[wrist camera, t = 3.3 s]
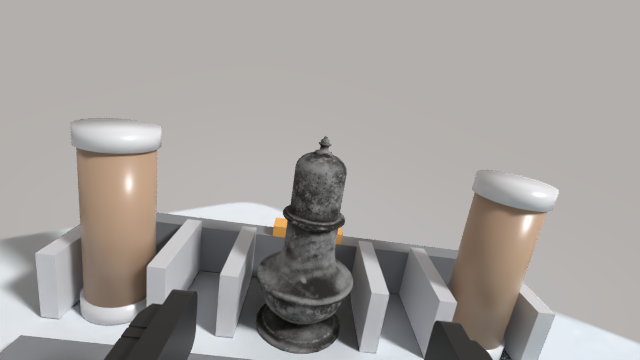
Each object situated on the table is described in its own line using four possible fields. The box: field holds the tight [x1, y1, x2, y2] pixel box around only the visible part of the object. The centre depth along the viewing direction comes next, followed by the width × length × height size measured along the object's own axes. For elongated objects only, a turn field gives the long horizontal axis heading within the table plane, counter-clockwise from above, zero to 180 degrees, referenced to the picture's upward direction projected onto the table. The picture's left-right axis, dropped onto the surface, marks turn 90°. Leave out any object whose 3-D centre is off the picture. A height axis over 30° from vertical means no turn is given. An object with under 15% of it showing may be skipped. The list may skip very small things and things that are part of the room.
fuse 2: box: [448, 170, 559, 360], centre depth 22 cm, size 4×4×11 cm
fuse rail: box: [0, 213, 555, 360], centre depth 22 cm, size 29×12×4 cm, turn 91°
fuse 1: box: [70, 118, 161, 325], centre depth 21 cm, size 4×4×11 cm
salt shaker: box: [256, 137, 353, 354], centre depth 21 cm, size 6×6×12 cm
